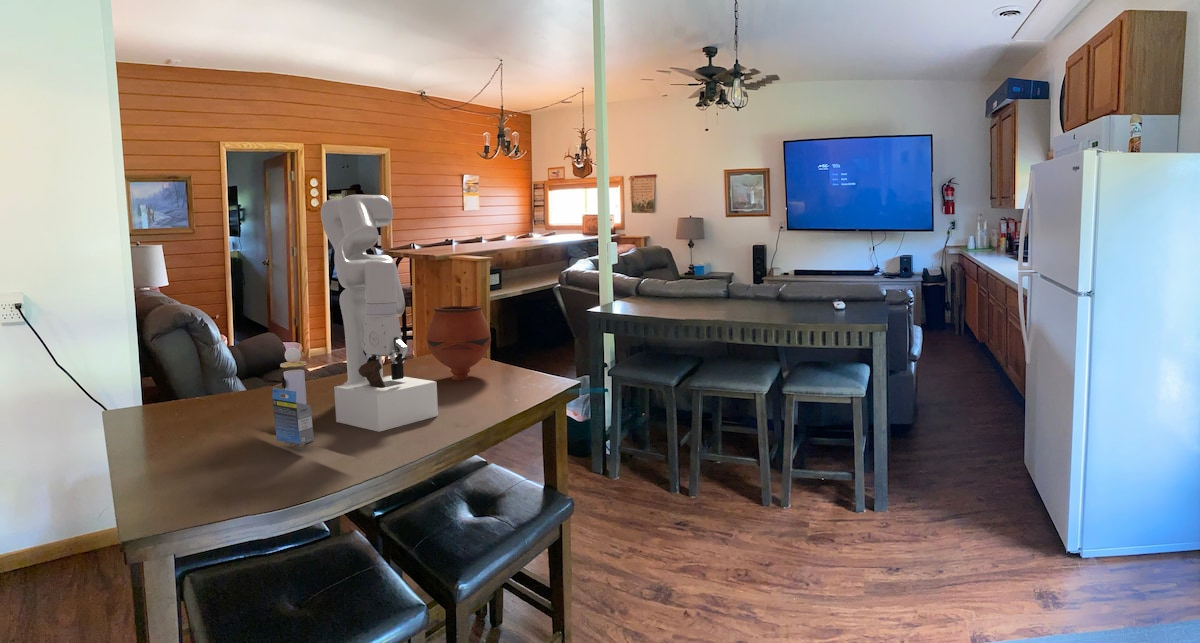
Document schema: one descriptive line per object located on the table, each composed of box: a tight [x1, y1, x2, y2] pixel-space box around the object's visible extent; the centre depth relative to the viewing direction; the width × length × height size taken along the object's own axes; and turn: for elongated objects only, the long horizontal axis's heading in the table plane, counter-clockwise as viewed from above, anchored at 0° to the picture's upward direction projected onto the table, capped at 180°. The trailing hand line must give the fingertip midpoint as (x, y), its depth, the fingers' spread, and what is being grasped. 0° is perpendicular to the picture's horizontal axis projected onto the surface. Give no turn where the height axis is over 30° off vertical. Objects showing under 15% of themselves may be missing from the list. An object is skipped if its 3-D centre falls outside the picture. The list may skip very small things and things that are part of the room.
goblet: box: [426, 305, 492, 381], centre depth 213 cm, size 19×19×25 cm
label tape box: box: [272, 387, 315, 445], centre depth 157 cm, size 9×4×12 cm, turn 59°
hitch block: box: [333, 374, 439, 433], centre depth 176 cm, size 17×18×9 cm
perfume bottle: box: [279, 346, 307, 404], centre depth 167 cm, size 6×6×20 cm
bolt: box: [358, 361, 386, 388], centre depth 174 cm, size 6×5×15 cm
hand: (385, 377), depth 175 cm, fingers open, 9 cm apart
